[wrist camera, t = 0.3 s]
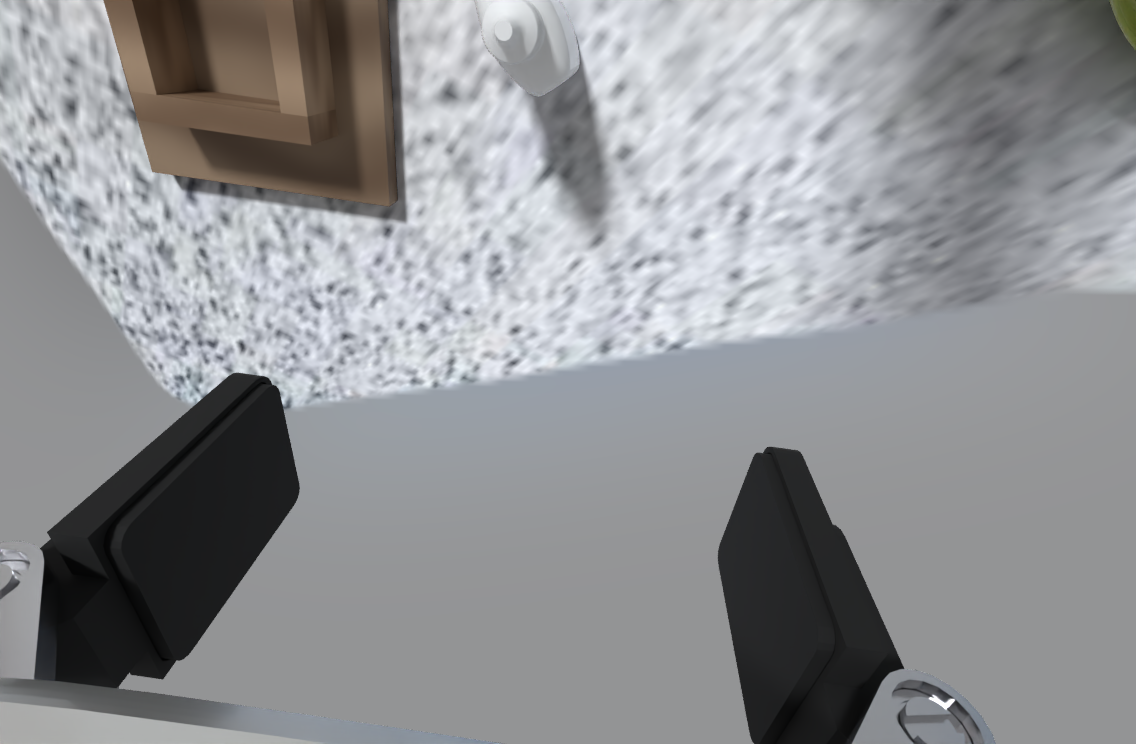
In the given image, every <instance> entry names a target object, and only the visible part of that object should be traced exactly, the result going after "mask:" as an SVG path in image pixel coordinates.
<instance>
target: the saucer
mask: <svg viewBox="0 0 1136 744" xmlns="http://www.w3.org/2000/svg"><path fill="white" fill-rule="evenodd" d="M1109 2H1110V5H1111V8H1112V10H1113V13H1114V16H1115V18H1116V21H1117V23H1118V25H1119V27H1120V29H1121V30H1122V32H1123V34H1124V35H1125V37H1126V39H1127V40H1128V42H1129V43H1130V44H1131V46H1132V47H1133V48H1134V49H1135V50H1136V0H1109Z"/></svg>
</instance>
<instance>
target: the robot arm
mask: <svg viewBox="0 0 1136 744" xmlns="http://www.w3.org/2000/svg"><path fill="white" fill-rule="evenodd" d="M299 489H300V487H299V481H298V476H297V472H296V467H295V462H294V457H293V453H292V448H291V443H290V439H289V434H288V429H287V424H286V420H285V415H284V410H283V405H282V401H281V396H280V392H279V389H278V388H277V386H274V385H272V383H271V381H270V380H269V378H267V377H265V376H257V375H250V374H243V373H233V374H231V375H230V376H228V377H227V378H226V379H225V380H224V381H222V382H221V383H220V384H219V385H218V386H217V387H215V388H214V389H213V390H212V391H211V392H210V393H209V394H207V395H206V396H205V397H204V398H203V399H202V400H200V401H199V402H198V403H197V404H196V405H195V406H193V407H192V408H191V409H190V410H189V411H188V412H187V413H185V414H184V415H183V416H182V417H181V418H179V419H178V420H177V421H176V422H175V423H174V424H173V425H172V426H170V427H169V428H168V429H167V430H165V431H164V432H163V433H162V434H161V435H160V436H158V437H157V438H156V439H155V440H154V441H153V442H151V443H150V444H149V445H148V446H147V447H146V448H145V449H143V451H141V452H140V453H139V454H138V455H136V456H135V457H134V458H133V459H132V460H131V461H129V462H128V463H127V464H126V465H125V466H124V467H122V468H121V469H120V470H119V471H118V472H117V473H115V474H114V475H113V476H112V477H111V478H110V479H108V480H107V481H106V482H105V483H104V484H103V485H101V486H100V487H99V488H98V489H97V490H96V491H95V492H93V493H92V494H91V495H90V496H89V497H88V498H86V499H85V500H84V501H83V502H82V503H81V504H80V505H78V506H77V507H76V508H75V509H74V510H72V511H71V512H70V513H69V514H68V515H67V516H66V517H64V518H63V519H62V520H61V521H60V522H59V523H57V524H56V525H55V526H54V527H53V528H51V529H50V530H49V531H48V532H47V533H48V534H49V536H50V538H51V540H49V541H48V542H47V543H46V544H45V545H44V546H42V547H41V548H40V549H39V548H38V547H37V546H35V545H34V544H31V543H27V542H22V541H8V542H0V744H503V743H495V742H489V741H482V740H476V739H468V738H462V737H455V736H449V735H442V734H435V733H428V732H422V731H415V730H408V729H401V728H395V727H388V726H381V725H374V724H367V723H360V722H353V721H346V720H340V719H333V718H326V717H319V716H313V715H306V714H299V713H291V712H283V711H277V710H270V709H263V708H256V707H249V706H242V705H235V704H228V703H220V702H214V701H206V700H200V699H193V698H186V697H178V696H172V695H165V694H157V693H149V692H141V691H133V690H125V689H119V685H120V684H121V682H122V681H123V680H124V679H125V677H126V676H127V674H129V672H130V674H131V675H137V676H144V677H151V678H158V679H164V677H165V676H166V674H167V673H168V672H169V670H170V669H171V667H172V666H173V665H174V663H175V662H176V660H182V659H184V658H185V657H186V656H188V655H189V653H190V652H191V651H192V650H193V648H194V647H195V645H196V644H197V643H198V641H199V640H200V638H201V637H202V635H203V634H204V633H205V631H206V630H207V628H208V627H209V625H210V624H211V623H212V621H213V620H214V618H215V617H216V616H217V614H218V613H219V611H220V610H221V608H222V607H223V606H224V604H225V603H226V601H227V600H228V598H229V597H230V596H231V594H232V593H233V591H234V590H235V588H236V587H237V586H238V584H239V583H240V581H241V580H242V578H243V577H244V575H245V574H246V573H247V571H248V570H249V569H250V567H251V566H252V564H253V563H254V561H255V560H256V558H257V557H258V556H259V554H260V553H261V551H262V550H263V548H264V547H265V546H266V544H267V543H268V541H269V540H270V539H271V537H272V535H273V534H274V533H275V531H276V530H277V529H278V527H279V526H280V524H281V523H282V521H283V520H284V519H285V517H286V516H287V514H288V513H289V511H290V510H291V509H292V507H293V506H294V504H295V503H296V501H297V498H298V495H299ZM718 564H719V570H720V575H721V581H722V586H723V592H724V597H725V603H726V608H727V613H728V619H729V624H730V629H731V634H732V640H733V646H734V651H735V656H736V662H737V667H738V673H739V678H740V683H741V689H742V694H743V700H744V705H745V711H746V716H747V721H748V727H749V732H750V736H751V739H752V741H753V743H754V744H996V743H995V740H994V737H993V734H992V733H991V731H990V729H989V728H988V726H987V724H986V723H985V721H984V719H983V718H982V716H981V715H980V714H979V713H978V711H977V710H976V709H975V708H974V707H973V706H972V705H971V703H970V702H969V701H968V700H967V699H966V698H964V697H963V696H962V695H961V694H960V693H958V692H957V691H956V690H955V689H954V688H953V687H951V686H950V685H948V684H946V683H945V682H943V681H941V680H940V679H938V678H936V677H934V676H932V675H930V674H927V673H923V672H921V671H918V670H908V669H904V667H903V665H902V663H901V660H900V658H899V656H898V654H897V651H896V649H895V647H894V645H893V642H892V640H891V638H890V636H889V634H888V631H887V629H886V627H885V625H884V622H883V620H882V618H881V616H880V614H879V611H878V609H877V607H876V605H875V602H874V600H873V598H872V596H871V593H870V591H869V589H868V587H867V585H866V582H865V580H864V578H863V576H862V574H861V571H860V569H859V567H858V565H857V562H856V560H855V558H854V556H853V553H852V551H851V549H850V547H849V545H848V542H847V540H846V538H845V536H844V534H843V533H842V531H841V529H839V528H838V527H837V526H836V525H833V524H832V522H831V520H830V518H829V515H828V513H827V511H826V508H825V506H824V504H823V502H822V499H821V497H820V495H819V492H818V490H817V488H816V485H815V483H814V481H813V478H812V476H811V474H810V472H809V470H808V467H807V465H806V462H805V460H804V458H803V456H802V454H801V453H800V452H799V451H798V450H791V449H783V448H776V447H767V448H766V449H765V451H764V452H763V453H756V454H755V455H754V457H753V459H752V462H751V464H750V467H749V470H748V472H747V475H746V477H745V480H744V483H743V485H742V488H741V490H740V493H739V496H738V498H737V501H736V504H735V506H734V509H733V511H732V514H731V517H730V519H729V522H728V524H727V527H726V530H725V532H724V535H723V537H722V540H721V543H720V546H719V550H718Z"/></svg>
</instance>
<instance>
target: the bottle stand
mask: <svg viewBox="0 0 1136 744" xmlns="http://www.w3.org/2000/svg"><path fill="white" fill-rule="evenodd" d="M104 4H105V7H106V11H107V14H108V18H109V21H110V25H111V28H112V32H113V35H114V39H115V42H116V46H117V49H118V53H119V56H120V60H121V63H122V67H123V70H124V74H125V77H126V81H127V84H128V88H129V91H130V95H131V98H132V102H133V105H134V109H135V112H136V116H137V119H138V123H139V127H140V130H141V134H142V137H143V141H144V144H145V148H146V151H147V155H148V158H149V162H150V165H151V169H152V172H156V173H163V174H170V175H177V176H184V177H191V178H198V179H204V180H211V181H218V182H225V183H232V184H239V185H245V186H252V187H259V188H266V189H273V190H280V191H287V192H293V193H300V194H307V195H314V196H321V197H328V198H335V199H341V200H348V201H355V202H362V203H369V204H376V205H382V206H389V207H390V206H391V205H392V204H394V203H395V202H396V201H398V199H397V179H396V159H395V139H394V119H393V99H392V79H391V59H390V39H389V19H388V0H104Z"/></svg>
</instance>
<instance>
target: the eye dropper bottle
mask: <svg viewBox="0 0 1136 744" xmlns="http://www.w3.org/2000/svg"><path fill="white" fill-rule="evenodd" d="M475 4H476V9H477V14H478V18H479V22H480V25H481V29H482V31H481V32H482V33H483V34H482V36H483V40H484V43H485V46H487V49H489V52H491V54H493V57H494V56H495V59H497V61H498V62H499V64H500V65H501V67H502V68H503V69H504V70H505V72H506V73H507V74H508V75H509V76H510V77H511V78H512V79H513V80H514V81H515V82H516V83H517V84H518V85H519V86H520V87H521V88H523V89H524V90H525V91H526V92H528V93H529V94H531V95H534V96H537V97H539V96H543V95H545V94H547V93H548V92H550V91H552V90H553V89H555V88H556V87H558V86H559V85H561V84H562V83H564V82H565V81H566V80H568V79H569V78H570V77H571V76H572V75H574V74H575V73H576V71H577V70H578V69H579V64H580V57H579V49H578V43H577V39H576V35H575V31H574V28H573V25H572V23H571V20H570V18H569V15H568V13H567V11H566V9H565V7H564V6H563V4H562V2H561V1H560V0H475Z"/></svg>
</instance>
